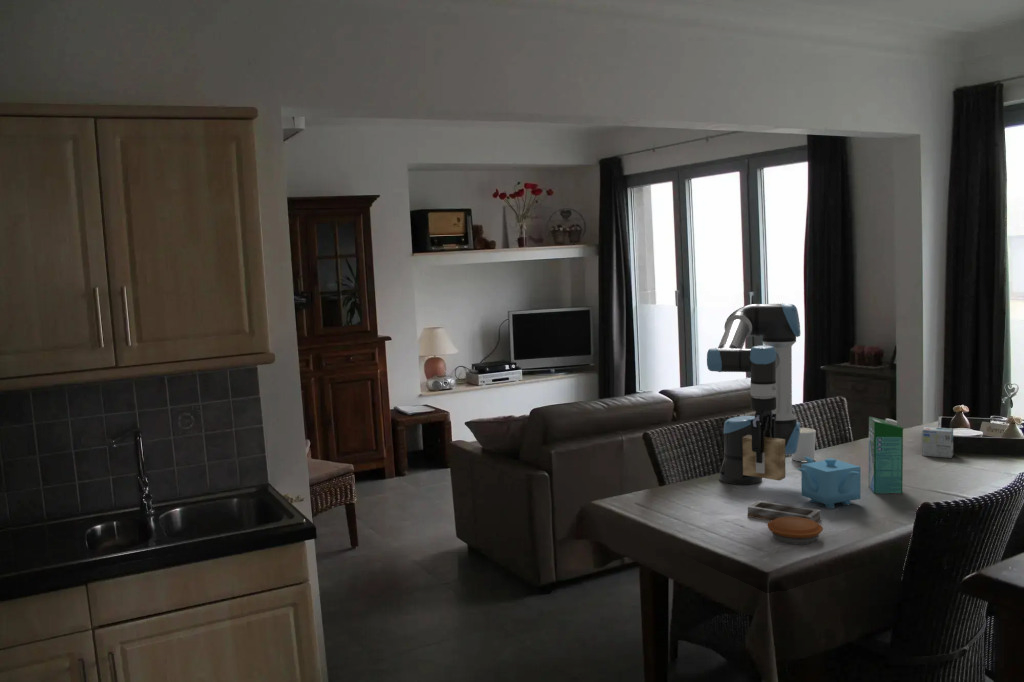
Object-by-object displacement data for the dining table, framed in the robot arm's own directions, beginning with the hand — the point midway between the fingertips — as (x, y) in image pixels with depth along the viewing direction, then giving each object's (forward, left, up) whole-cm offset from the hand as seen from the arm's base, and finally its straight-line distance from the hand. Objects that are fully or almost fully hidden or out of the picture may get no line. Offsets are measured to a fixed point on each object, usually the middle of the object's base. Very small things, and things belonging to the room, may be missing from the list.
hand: (764, 470), depth 261 cm
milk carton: (+21, +54, -16) cm, 60 cm away
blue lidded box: (+10, +29, -16) cm, 35 cm away
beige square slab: (0, 0, -2) cm, 2 cm away
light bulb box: (+24, +115, -16) cm, 119 cm away
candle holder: (-18, +82, -16) cm, 85 cm away
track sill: (+4, +6, -16) cm, 18 cm away
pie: (+13, -10, -16) cm, 23 cm away
